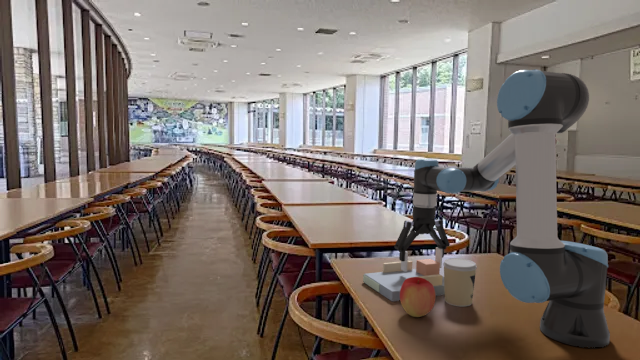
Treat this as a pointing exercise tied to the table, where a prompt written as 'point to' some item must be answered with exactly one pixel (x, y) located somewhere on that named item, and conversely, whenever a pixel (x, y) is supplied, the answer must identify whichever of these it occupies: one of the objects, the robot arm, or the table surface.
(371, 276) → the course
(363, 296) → the table surface
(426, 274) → the block
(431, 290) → the apple
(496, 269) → the table surface
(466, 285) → the coffee cup
